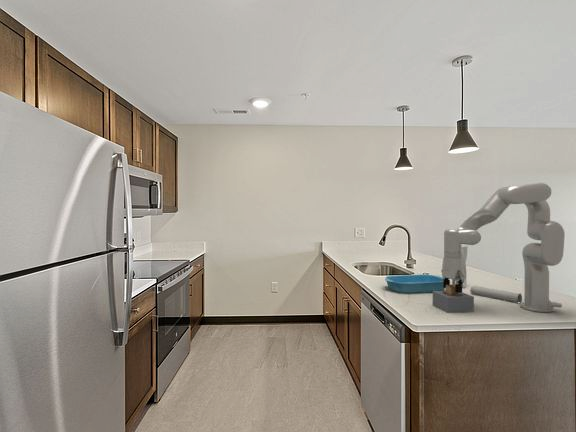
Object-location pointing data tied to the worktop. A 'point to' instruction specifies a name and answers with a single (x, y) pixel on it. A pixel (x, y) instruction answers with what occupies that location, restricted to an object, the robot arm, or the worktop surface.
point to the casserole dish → (415, 283)
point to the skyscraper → (463, 264)
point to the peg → (451, 290)
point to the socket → (453, 302)
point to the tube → (496, 294)
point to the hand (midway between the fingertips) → (452, 290)
